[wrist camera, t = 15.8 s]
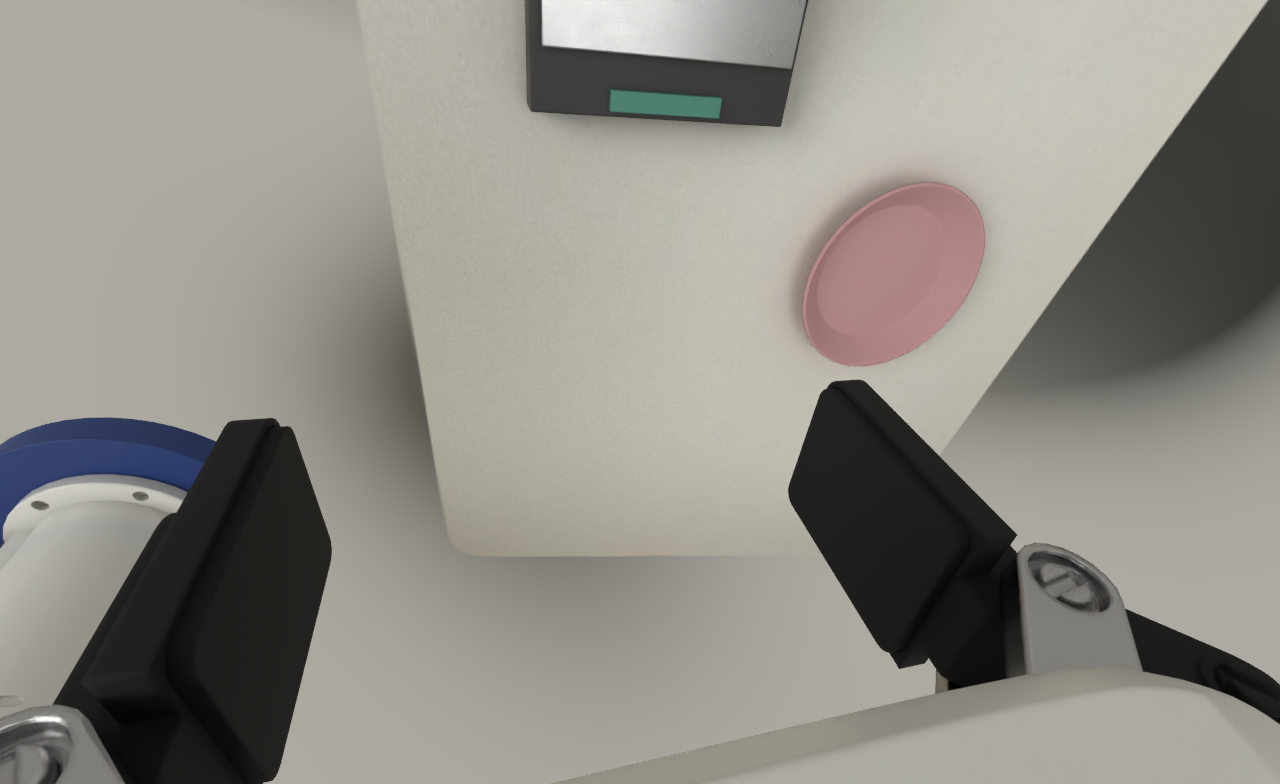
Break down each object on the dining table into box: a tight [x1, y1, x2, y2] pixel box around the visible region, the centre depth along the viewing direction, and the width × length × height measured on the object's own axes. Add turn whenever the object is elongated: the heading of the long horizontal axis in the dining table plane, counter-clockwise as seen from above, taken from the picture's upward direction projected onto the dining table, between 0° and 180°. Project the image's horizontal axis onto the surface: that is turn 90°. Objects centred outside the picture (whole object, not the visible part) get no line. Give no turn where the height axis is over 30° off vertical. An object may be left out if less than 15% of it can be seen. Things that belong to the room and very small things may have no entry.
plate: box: [803, 183, 985, 366], centre depth 41 cm, size 14×14×2 cm
